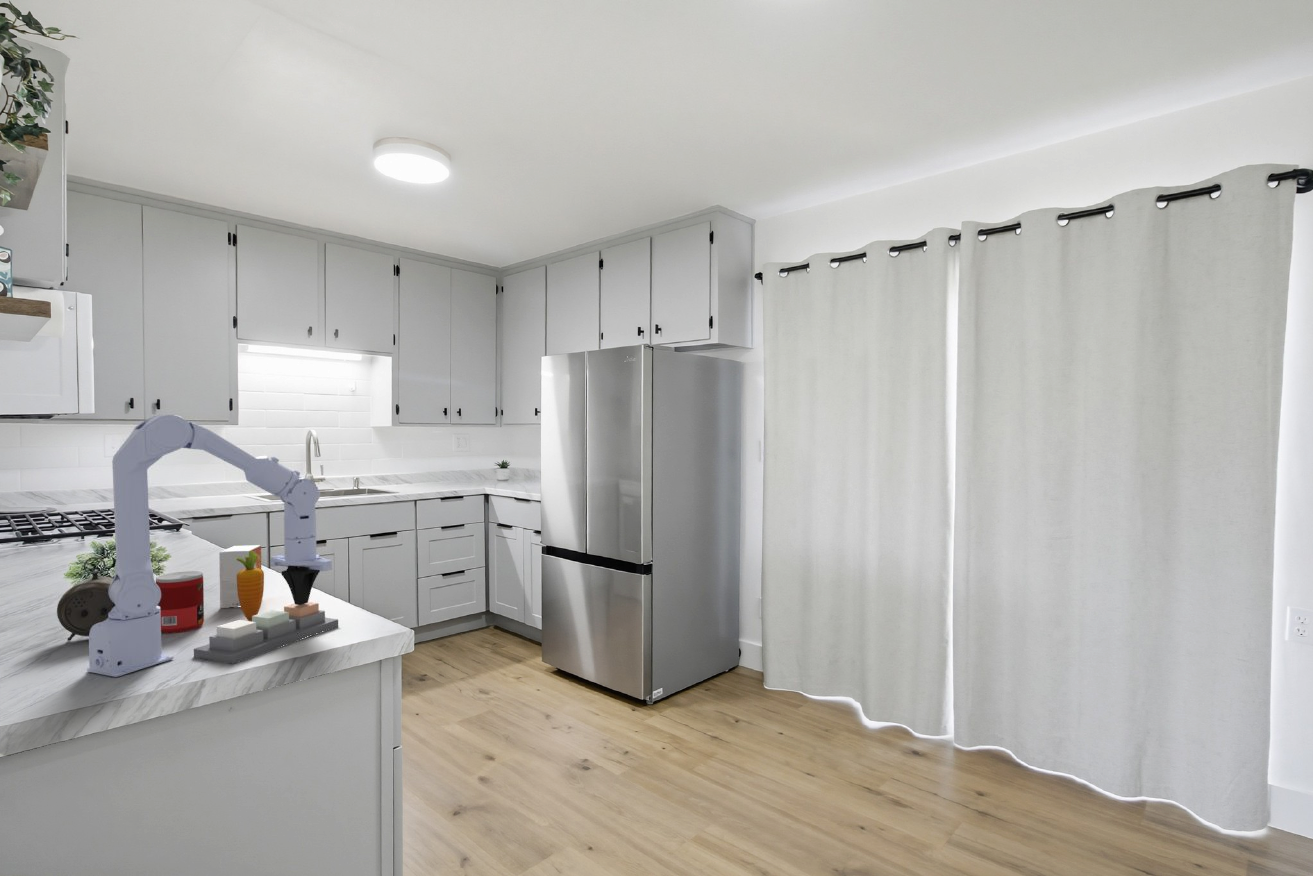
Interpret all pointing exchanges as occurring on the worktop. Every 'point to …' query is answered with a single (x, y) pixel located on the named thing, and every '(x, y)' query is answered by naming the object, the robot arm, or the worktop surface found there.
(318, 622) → the keypad console
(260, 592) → the carrot
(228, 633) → the offwhite key
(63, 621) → the alarm clock
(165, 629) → the canned food
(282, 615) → the sage key
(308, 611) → the terracotta key
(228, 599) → the small box
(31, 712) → the worktop surface
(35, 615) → the worktop surface
